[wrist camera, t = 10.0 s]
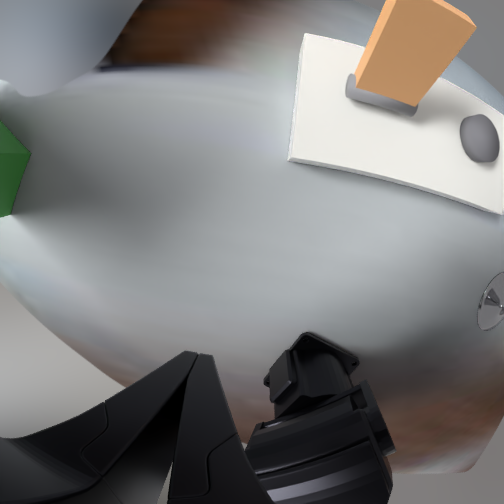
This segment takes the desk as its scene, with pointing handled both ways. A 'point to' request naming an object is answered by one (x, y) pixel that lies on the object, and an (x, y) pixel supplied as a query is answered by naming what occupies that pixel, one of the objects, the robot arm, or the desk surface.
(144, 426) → the robot arm
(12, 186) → the cereal box
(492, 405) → the desk surface
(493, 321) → the wine glass
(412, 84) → the paddle lever
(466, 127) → the push button
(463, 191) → the switch panel
